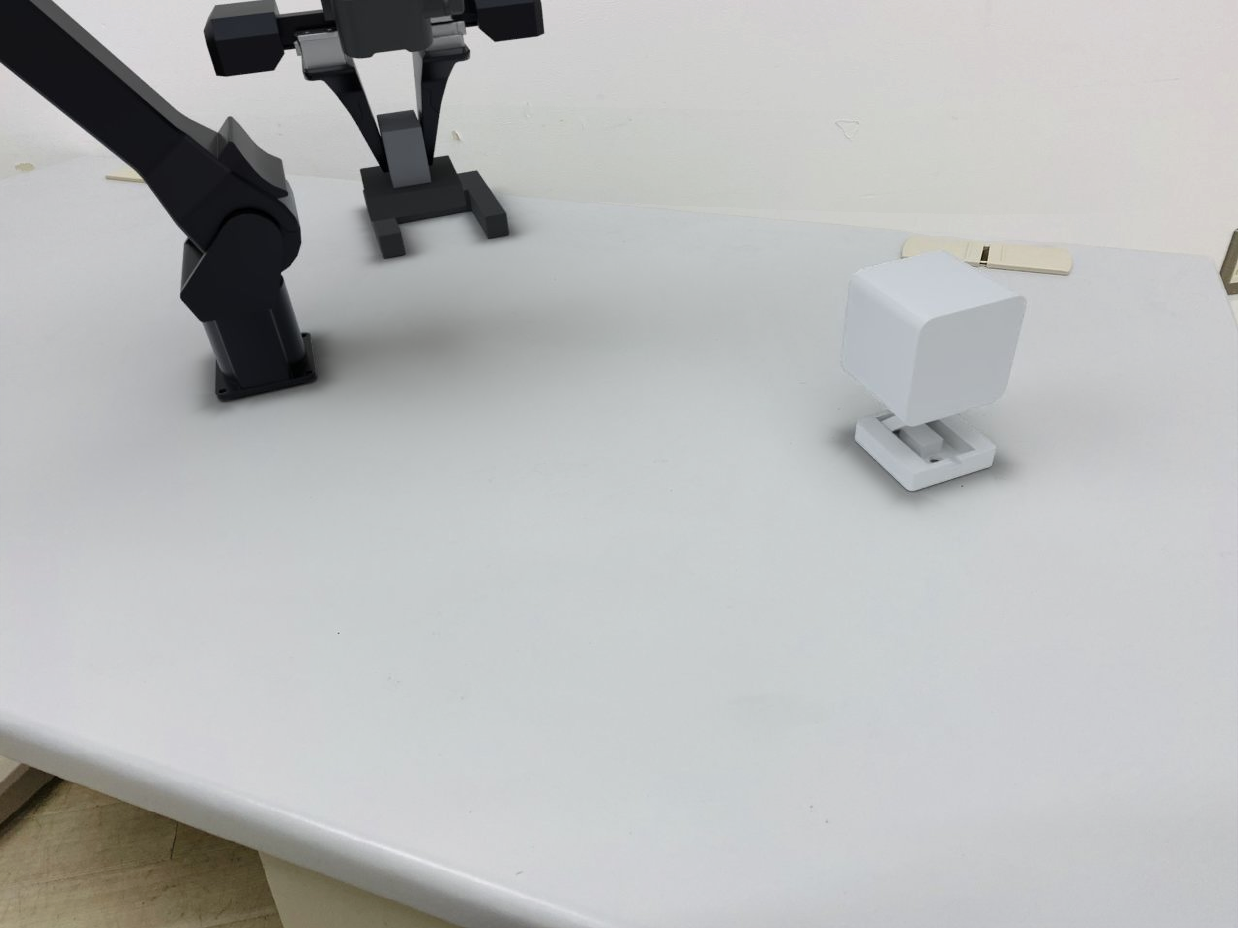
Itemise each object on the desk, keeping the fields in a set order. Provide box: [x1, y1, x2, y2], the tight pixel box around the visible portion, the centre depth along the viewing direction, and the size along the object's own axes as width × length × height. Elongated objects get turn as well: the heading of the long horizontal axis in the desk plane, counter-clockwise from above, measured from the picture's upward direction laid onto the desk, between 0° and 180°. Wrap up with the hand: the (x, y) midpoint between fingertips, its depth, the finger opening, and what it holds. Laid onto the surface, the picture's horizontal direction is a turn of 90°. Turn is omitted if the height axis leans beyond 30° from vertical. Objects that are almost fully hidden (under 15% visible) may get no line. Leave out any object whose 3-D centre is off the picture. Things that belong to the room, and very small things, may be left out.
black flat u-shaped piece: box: [362, 169, 510, 259], centre depth 81 cm, size 12×11×2 cm
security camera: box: [839, 249, 1028, 492], centre depth 48 cm, size 6×7×10 cm
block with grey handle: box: [359, 109, 466, 223], centre depth 57 cm, size 6×6×5 cm
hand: (407, 167), depth 57 cm, fingers closed on block with grey handle, 2 cm apart
